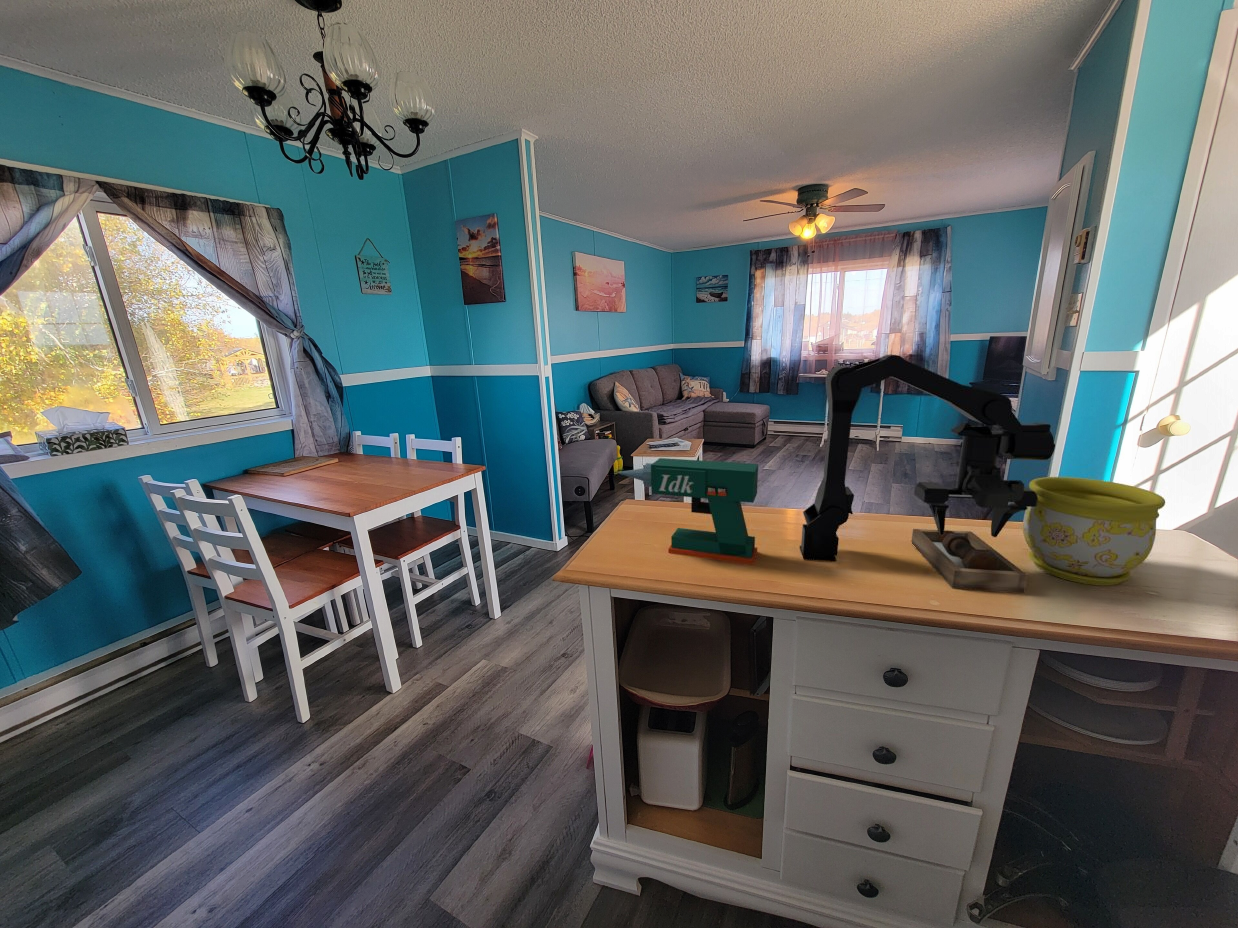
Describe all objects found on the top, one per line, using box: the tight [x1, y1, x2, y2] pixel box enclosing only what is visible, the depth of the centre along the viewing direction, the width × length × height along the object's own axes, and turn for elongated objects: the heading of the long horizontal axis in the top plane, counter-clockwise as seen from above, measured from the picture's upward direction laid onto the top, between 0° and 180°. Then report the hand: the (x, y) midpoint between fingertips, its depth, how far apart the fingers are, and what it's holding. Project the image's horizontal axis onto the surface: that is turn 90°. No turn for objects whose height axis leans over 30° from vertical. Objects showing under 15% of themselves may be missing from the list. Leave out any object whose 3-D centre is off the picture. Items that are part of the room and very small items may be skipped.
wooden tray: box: [910, 528, 1028, 594], centre depth 95 cm, size 11×20×4 cm, turn 168°
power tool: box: [615, 457, 759, 566], centre depth 105 cm, size 32×7×20 cm, turn 68°
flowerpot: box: [1022, 476, 1166, 587], centre depth 90 cm, size 18×18×16 cm
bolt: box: [939, 530, 1000, 570], centre depth 95 cm, size 6×5×15 cm
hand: (966, 535), depth 94 cm, fingers open, 9 cm apart
